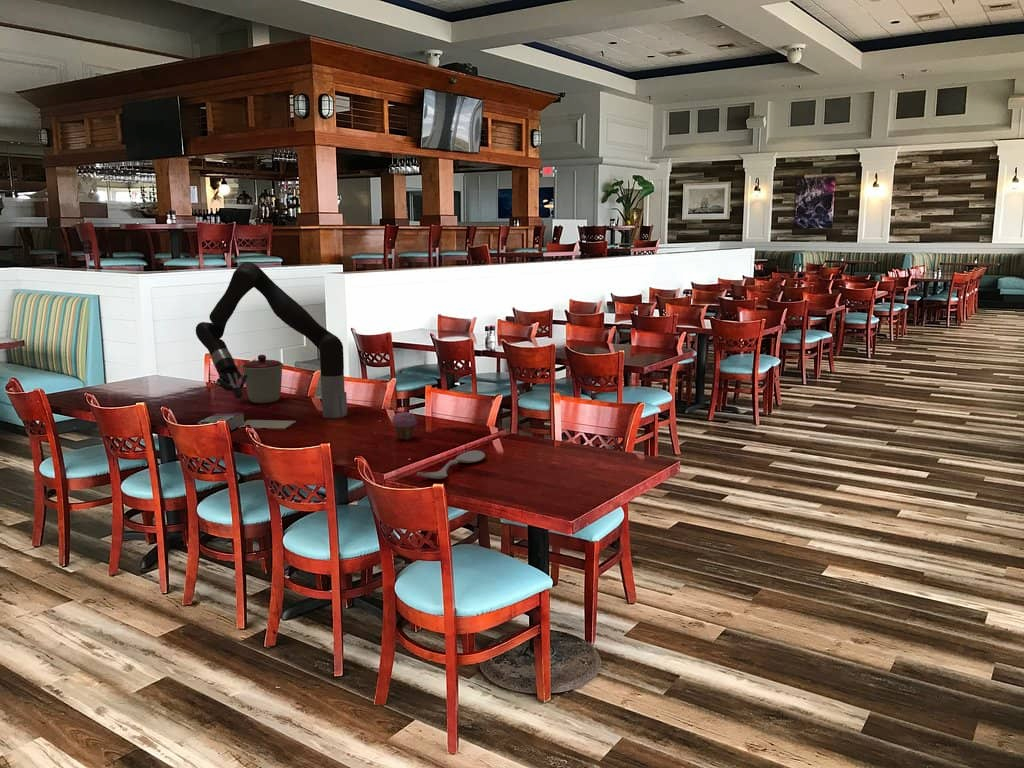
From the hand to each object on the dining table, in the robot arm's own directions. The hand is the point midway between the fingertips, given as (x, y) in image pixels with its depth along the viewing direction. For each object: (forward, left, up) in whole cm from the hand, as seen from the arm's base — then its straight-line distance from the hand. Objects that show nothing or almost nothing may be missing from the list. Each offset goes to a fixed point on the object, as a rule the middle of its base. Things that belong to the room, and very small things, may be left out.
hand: (239, 397), depth 320 cm
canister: (+10, -45, -12) cm, 48 cm away
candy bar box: (+5, -2, -9) cm, 11 cm away
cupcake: (-69, +14, -12) cm, 71 cm away
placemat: (-9, -2, -11) cm, 15 cm away
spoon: (-94, +51, -12) cm, 108 cm away
